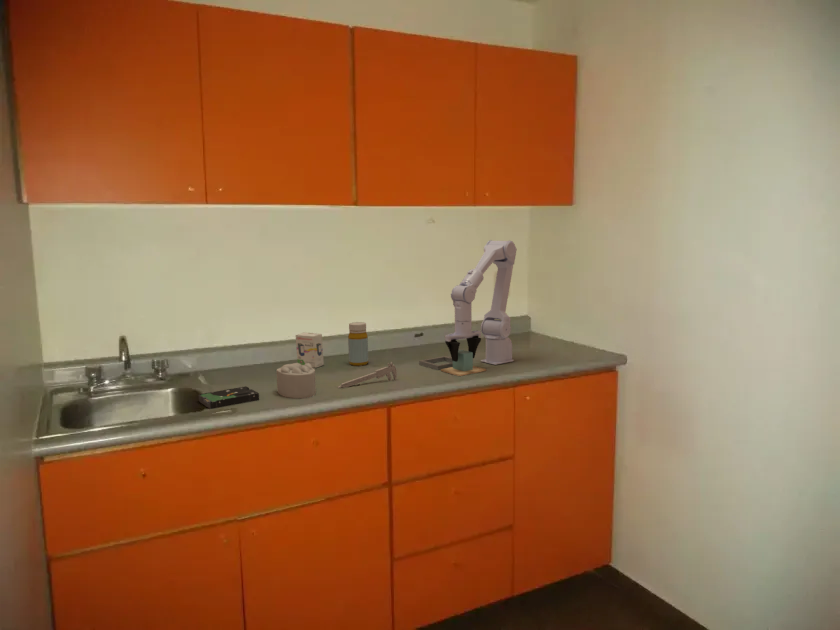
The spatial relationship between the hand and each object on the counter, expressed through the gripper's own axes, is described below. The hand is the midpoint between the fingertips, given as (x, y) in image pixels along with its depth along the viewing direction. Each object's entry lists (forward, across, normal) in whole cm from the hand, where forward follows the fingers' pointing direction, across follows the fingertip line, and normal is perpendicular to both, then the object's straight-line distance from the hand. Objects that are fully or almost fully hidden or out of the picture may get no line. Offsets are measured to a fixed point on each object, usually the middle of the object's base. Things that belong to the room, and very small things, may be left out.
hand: (463, 359), depth 222 cm
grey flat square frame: (+4, 0, -12) cm, 13 cm away
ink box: (+4, +37, -42) cm, 56 cm away
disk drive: (+5, +77, -16) cm, 79 cm away
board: (+4, 0, 0) cm, 4 cm away
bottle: (+4, +22, -33) cm, 40 cm away
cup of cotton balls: (+4, +57, -11) cm, 58 cm away
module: (+3, 0, 0) cm, 3 cm away
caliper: (+4, +35, -7) cm, 36 cm away
